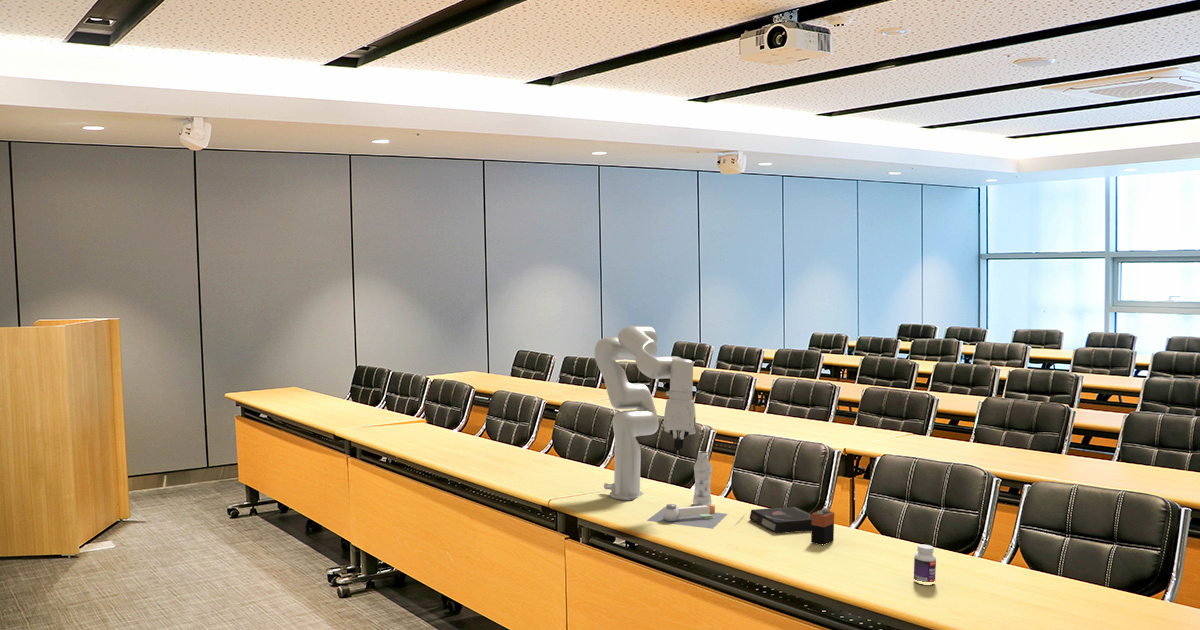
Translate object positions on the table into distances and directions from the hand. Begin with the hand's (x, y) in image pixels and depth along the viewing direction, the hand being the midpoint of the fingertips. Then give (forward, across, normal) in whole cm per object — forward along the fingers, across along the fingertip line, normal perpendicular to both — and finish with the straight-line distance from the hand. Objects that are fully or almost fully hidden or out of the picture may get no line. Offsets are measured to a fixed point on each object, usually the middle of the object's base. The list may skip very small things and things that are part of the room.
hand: (679, 450), depth 296 cm
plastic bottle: (+23, +5, +13) cm, 27 cm away
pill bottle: (+21, +79, -37) cm, 90 cm away
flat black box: (+23, +35, +5) cm, 42 cm away
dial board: (+22, +5, -5) cm, 24 cm away
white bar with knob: (+20, +6, -7) cm, 22 cm away
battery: (+22, +49, -10) cm, 55 cm away
